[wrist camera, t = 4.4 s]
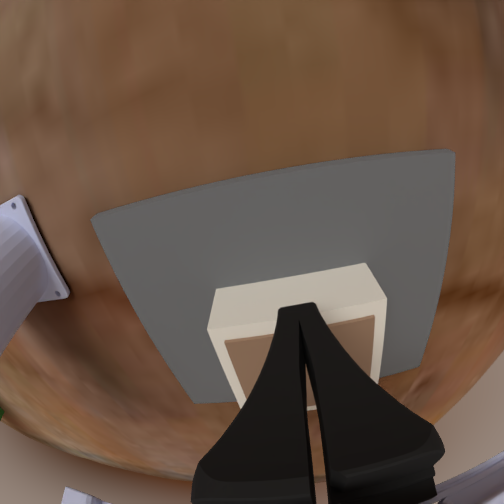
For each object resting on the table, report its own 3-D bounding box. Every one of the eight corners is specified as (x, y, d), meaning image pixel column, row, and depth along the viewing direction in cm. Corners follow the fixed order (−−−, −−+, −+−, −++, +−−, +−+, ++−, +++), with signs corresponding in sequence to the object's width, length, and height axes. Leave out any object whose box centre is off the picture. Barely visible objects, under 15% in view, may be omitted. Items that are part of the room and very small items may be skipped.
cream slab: (216, 288, 17) (246, 378, 20) (206, 332, 13) (244, 420, 17) (365, 262, 16) (363, 359, 19) (388, 300, 12) (376, 398, 16)
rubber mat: (195, 396, 24) (194, 403, 23) (96, 213, 15) (90, 219, 14) (416, 359, 22) (419, 366, 21) (447, 148, 13) (455, 152, 12)
